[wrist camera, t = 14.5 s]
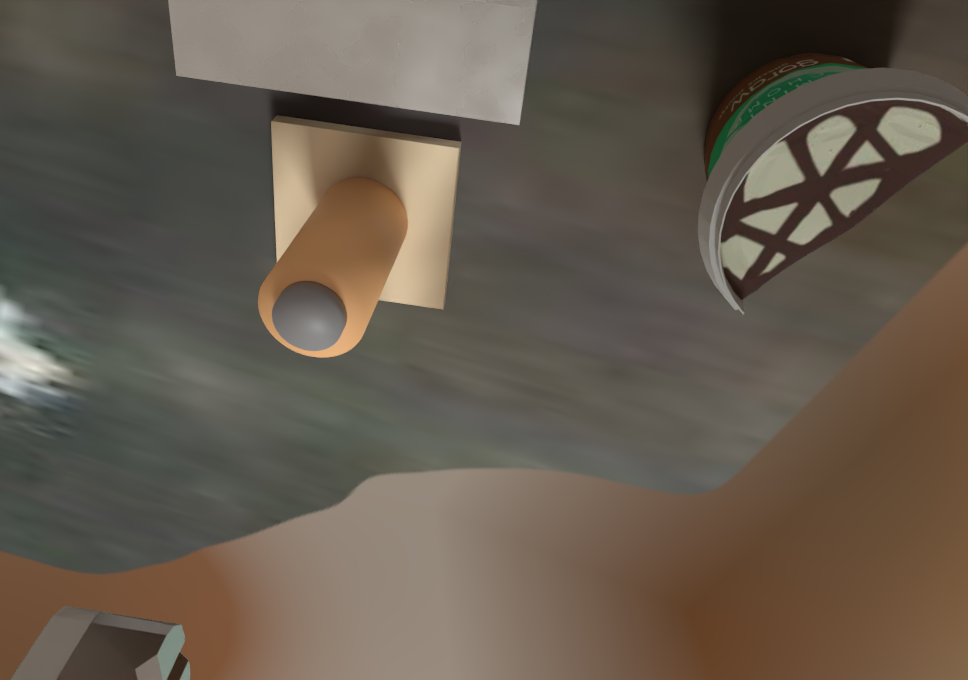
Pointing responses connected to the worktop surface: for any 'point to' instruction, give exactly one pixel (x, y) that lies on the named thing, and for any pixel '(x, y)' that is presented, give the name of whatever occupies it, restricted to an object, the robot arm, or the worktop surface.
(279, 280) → the tan grey-topped cylinder
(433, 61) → the housing
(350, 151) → the coaster
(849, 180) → the food container
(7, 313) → the worktop surface
